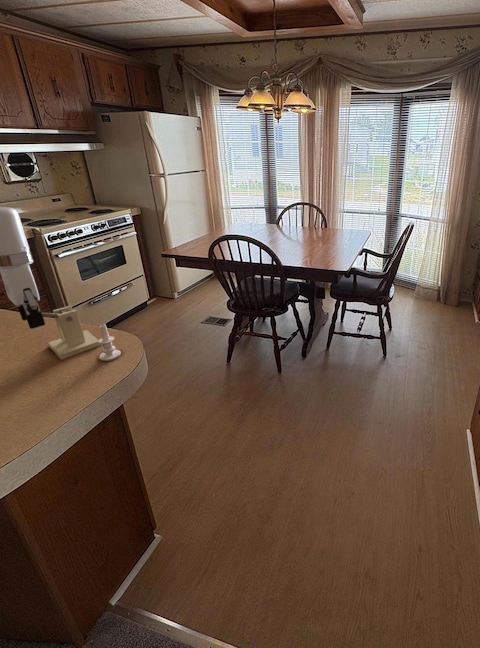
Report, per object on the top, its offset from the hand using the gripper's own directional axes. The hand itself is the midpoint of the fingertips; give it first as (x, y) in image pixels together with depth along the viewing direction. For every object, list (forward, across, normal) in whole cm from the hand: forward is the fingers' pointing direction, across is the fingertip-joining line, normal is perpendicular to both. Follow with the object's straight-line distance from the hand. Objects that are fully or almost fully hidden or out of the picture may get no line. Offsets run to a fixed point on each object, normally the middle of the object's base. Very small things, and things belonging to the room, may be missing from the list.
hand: (33, 321), depth 91 cm
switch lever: (+1, 0, +3) cm, 3 cm away
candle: (+11, +13, +12) cm, 21 cm away
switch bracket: (+11, 0, +7) cm, 13 cm away
